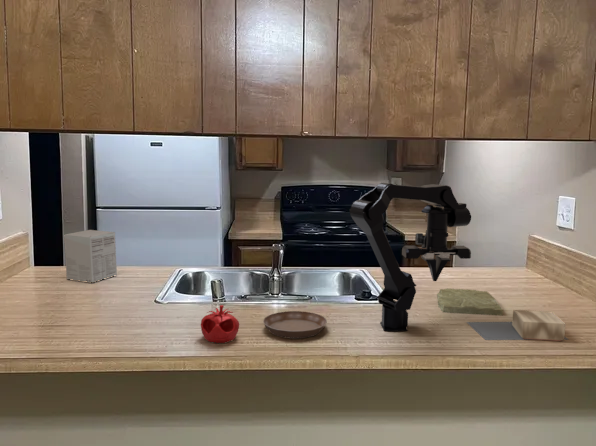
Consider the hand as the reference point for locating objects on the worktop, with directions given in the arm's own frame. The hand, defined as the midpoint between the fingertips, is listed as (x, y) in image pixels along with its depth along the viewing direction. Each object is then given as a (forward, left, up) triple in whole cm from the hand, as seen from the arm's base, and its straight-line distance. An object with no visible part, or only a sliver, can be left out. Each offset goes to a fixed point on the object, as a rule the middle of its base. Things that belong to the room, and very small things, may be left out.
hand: (434, 280), depth 151 cm
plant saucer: (-41, -7, -12) cm, 43 cm away
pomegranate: (-61, -14, -12) cm, 64 cm away
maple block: (+20, -12, -9) cm, 25 cm away
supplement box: (-117, +50, -12) cm, 128 cm away
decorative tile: (+15, +14, -13) cm, 24 cm away
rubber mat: (+20, -10, -12) cm, 26 cm away
